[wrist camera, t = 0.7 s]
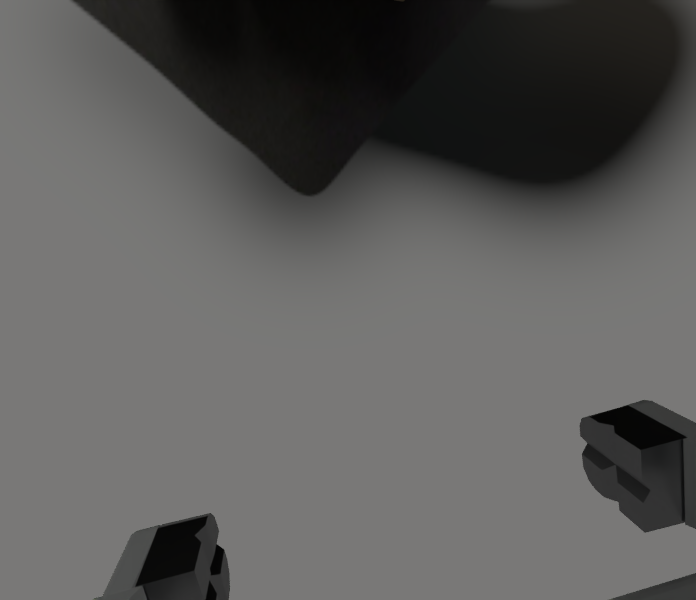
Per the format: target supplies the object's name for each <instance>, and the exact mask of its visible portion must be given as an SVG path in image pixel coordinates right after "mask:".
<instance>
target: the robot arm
mask: <svg viewBox="0 0 696 600" xmlns="http://www.w3.org/2000/svg"><path fill="white" fill-rule="evenodd" d="M580 436H581V437H582V438H583V439H584V440H585V441H586V442H587V445H586V447H585V449H584V451H583V453H582V459H583V467H584V470H585V472H586V474H587V477H588V479H589V481H590V482H591V484H592V485H593V486H594V488H595V489H596V490H597V491H598V492H599V493H600V494H601V495H602V496H604V497H606V498H609V499H612V500H615V501H618V502H619V509H620V511H621V512H622V513H623V514H624V515H625V516H626V517H628V518H629V519H630V520H631V521H632V522H633V523H635V524H636V525H637V526H638V527H639V528H640V529H641V530H643V531H644V532H649V531H653V530H657V529H661V528H665V527H669V526H672V525H676V524H680V523H684V522H685V524H686V525H688V526H690V527H693V528H695V529H696V423H695V422H693V421H691V420H689V419H687V418H685V417H683V416H681V415H679V414H677V413H675V412H673V411H671V410H669V409H667V408H665V407H663V406H660V405H658V404H657V403H655V402H653V401H648V400H642V401H639V402H636V403H632V404H629V405H626V406H623V407H620V408H617V409H613V410H609V411H606V412H602V413H599V414H595V415H592V416H588V417H585V418H582V419H581V423H580ZM218 532H219V530H218V527H217V524H216V521H215V517H214V516H213V515H212V514H211V513H209V514H205V515H201V516H196V517H192V518H188V519H184V520H179V521H175V522H171V523H167V524H163V525H158V526H154V527H150V528H147V529H143V530H139V531H136V532H135V533H134V534H132V535H131V537H130V539H129V541H128V543H127V545H126V547H125V550H124V552H123V554H122V556H121V558H120V560H119V562H118V564H117V566H116V569H115V571H114V573H113V575H112V577H111V579H110V581H109V584H108V586H107V588H106V590H105V592H104V594H103V596H102V597H99V598H95V599H93V600H228V599H229V591H230V585H229V584H230V583H229V582H230V581H229V568H228V563H227V558H226V554H225V551H224V549H222V548H221V547H220V546H218V545H217V544H216V543H217V538H218ZM610 600H696V573H695V574H691V575H688V576H685V577H682V578H679V579H675V580H672V581H669V582H665V583H662V584H659V585H655V586H652V587H649V588H646V589H642V590H639V591H636V592H633V593H629V594H626V595H623V596H620V597H616V598H613V599H610Z"/></svg>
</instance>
